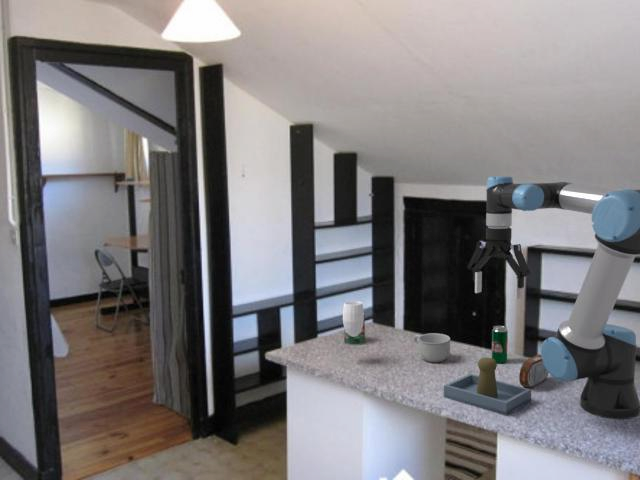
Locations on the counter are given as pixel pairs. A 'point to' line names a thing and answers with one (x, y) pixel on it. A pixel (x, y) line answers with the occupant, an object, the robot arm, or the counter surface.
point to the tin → (533, 372)
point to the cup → (353, 317)
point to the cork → (487, 378)
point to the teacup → (433, 346)
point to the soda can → (499, 344)
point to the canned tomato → (357, 339)
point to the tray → (503, 404)
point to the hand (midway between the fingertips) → (497, 295)
